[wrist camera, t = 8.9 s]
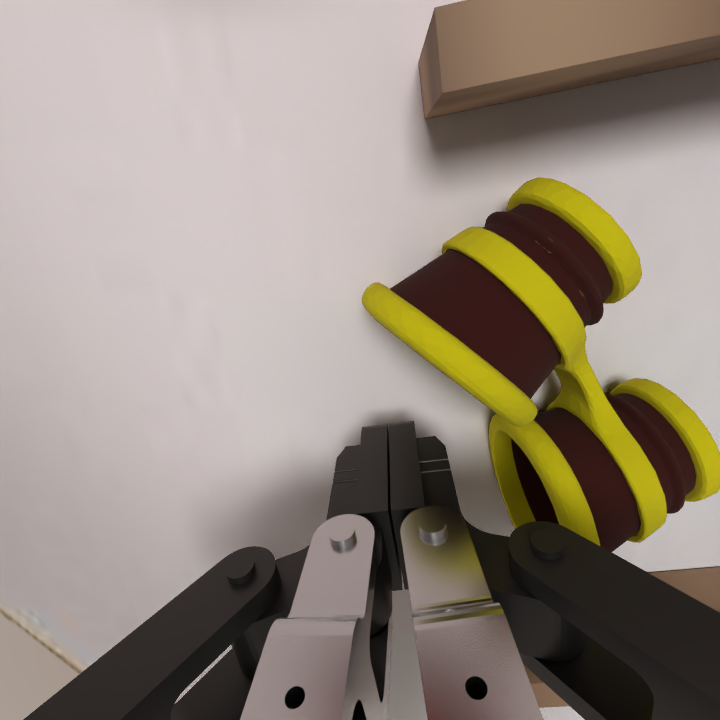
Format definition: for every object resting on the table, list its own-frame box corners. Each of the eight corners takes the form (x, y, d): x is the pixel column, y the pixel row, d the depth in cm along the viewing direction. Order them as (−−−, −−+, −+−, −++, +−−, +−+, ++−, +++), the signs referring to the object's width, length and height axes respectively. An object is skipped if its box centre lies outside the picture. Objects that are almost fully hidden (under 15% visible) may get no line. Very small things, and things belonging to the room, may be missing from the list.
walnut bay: (476, 608, 17) (498, 709, 14) (418, 61, 10) (434, 7, 7) (789, 585, 16) (893, 689, 13) (962, -58, 9) (1289, -192, 6)
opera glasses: (633, 434, 15) (787, 530, 10) (501, 516, 15) (589, 646, 10) (506, 175, 12) (638, 137, 7) (347, 283, 12) (372, 317, 8)
